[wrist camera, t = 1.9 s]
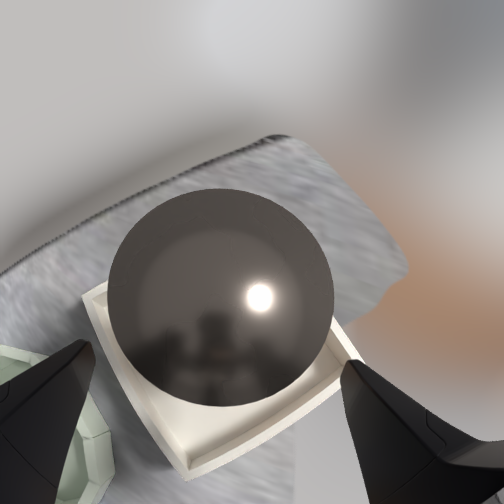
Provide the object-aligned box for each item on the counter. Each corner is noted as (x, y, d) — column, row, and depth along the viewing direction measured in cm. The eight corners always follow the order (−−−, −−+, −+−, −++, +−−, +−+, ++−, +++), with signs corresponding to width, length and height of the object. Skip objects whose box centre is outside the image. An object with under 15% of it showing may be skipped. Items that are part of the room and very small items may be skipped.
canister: (276, 355, 17) (373, 318, 6) (206, 398, 16) (180, 448, 5) (232, 289, 19) (254, 162, 8) (163, 327, 17) (80, 246, 6)
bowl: (148, 485, 13) (138, 501, 10) (38, 511, 9) (22, 521, 6) (61, 326, 17) (41, 317, 14) (-26, 379, 13) (-47, 376, 10)
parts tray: (346, 367, 18) (366, 365, 15) (190, 467, 14) (186, 482, 11) (248, 226, 22) (253, 205, 19) (98, 306, 18) (81, 295, 15)
